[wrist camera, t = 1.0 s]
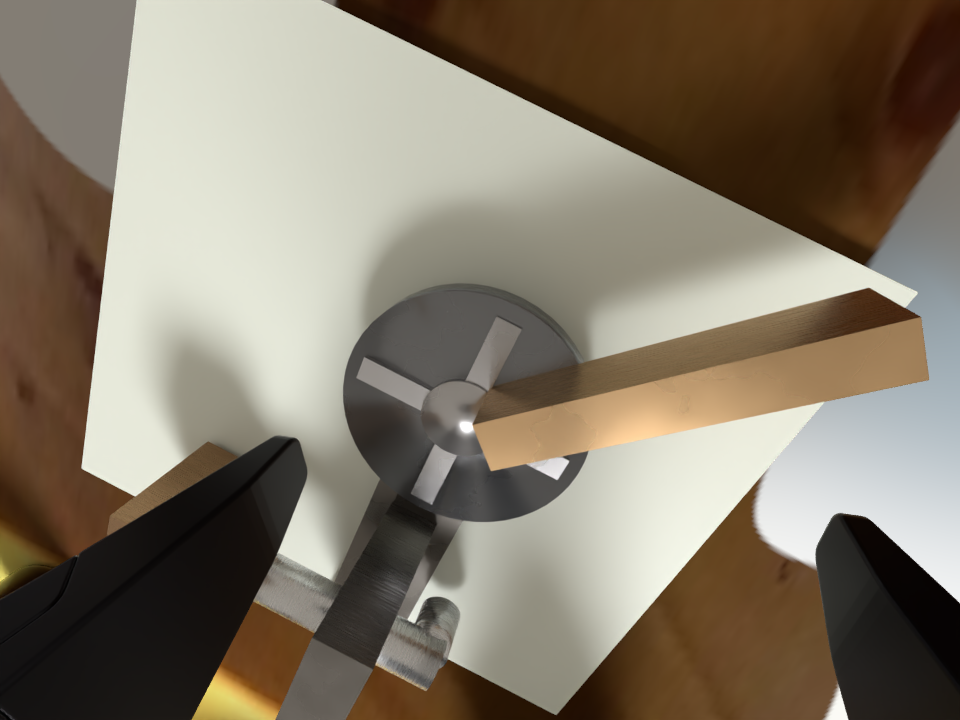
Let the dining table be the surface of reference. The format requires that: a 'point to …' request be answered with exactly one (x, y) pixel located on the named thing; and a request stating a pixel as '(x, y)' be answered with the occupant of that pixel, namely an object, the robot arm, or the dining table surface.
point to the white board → (404, 271)
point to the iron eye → (368, 603)
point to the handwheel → (585, 388)
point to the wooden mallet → (313, 583)
